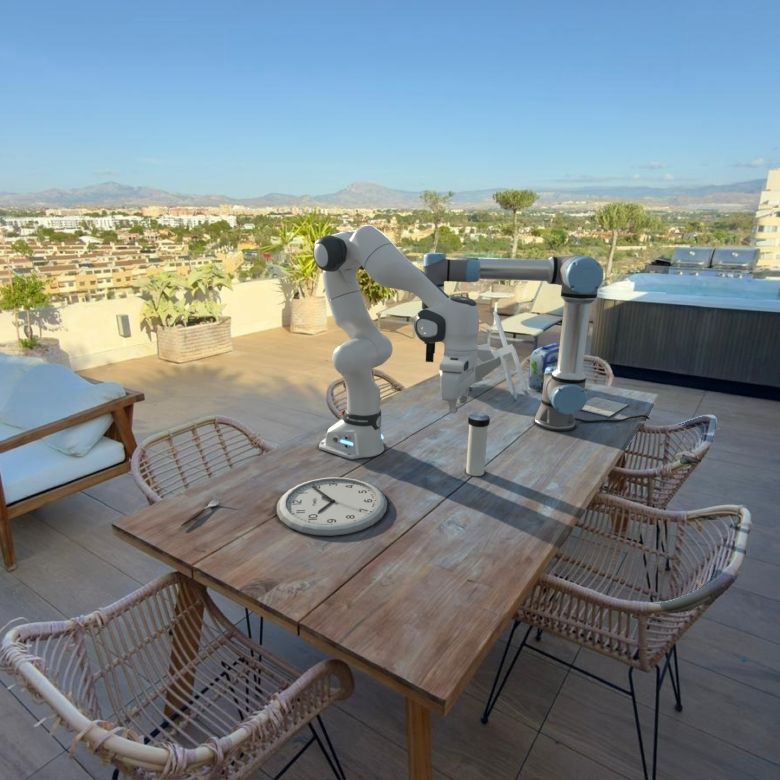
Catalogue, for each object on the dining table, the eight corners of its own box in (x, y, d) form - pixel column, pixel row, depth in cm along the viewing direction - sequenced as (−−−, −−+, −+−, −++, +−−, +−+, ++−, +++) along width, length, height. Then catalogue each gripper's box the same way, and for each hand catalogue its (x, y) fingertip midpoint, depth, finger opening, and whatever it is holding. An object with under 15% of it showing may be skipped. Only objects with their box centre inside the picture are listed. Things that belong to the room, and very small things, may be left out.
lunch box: (544, 395, 239) (549, 351, 233) (524, 390, 247) (528, 347, 240) (571, 384, 257) (577, 343, 251) (552, 380, 264) (556, 339, 258)
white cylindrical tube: (485, 469, 166) (489, 416, 160) (482, 477, 160) (487, 422, 155) (467, 467, 167) (471, 414, 162) (465, 474, 162) (468, 420, 157)
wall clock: (392, 527, 129) (268, 531, 127) (391, 533, 130) (269, 537, 127) (383, 473, 158) (282, 475, 155) (383, 478, 158) (282, 480, 156)
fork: (176, 526, 131) (176, 519, 130) (217, 497, 145) (217, 491, 145) (185, 528, 130) (184, 521, 130) (225, 499, 145) (224, 492, 144)
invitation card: (608, 416, 214) (573, 407, 224) (608, 416, 214) (573, 408, 224) (628, 404, 229) (594, 396, 238) (628, 405, 229) (594, 397, 238)
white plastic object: (461, 429, 252) (437, 405, 227) (444, 352, 274) (420, 323, 250) (535, 404, 240) (518, 377, 215) (510, 326, 262) (492, 293, 237)
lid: (490, 420, 161) (490, 414, 160) (488, 428, 155) (488, 421, 154) (469, 418, 163) (470, 412, 162) (466, 425, 157) (467, 419, 156)
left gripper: (460, 349, 150) (458, 395, 154) (436, 365, 132) (435, 417, 136) (482, 351, 147) (479, 398, 151) (461, 368, 129) (458, 420, 133)
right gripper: (424, 293, 195) (422, 349, 202) (419, 302, 172) (417, 365, 178) (444, 294, 195) (441, 350, 201) (442, 303, 171) (439, 366, 177)
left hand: (458, 407), depth 144 cm, fingers open, 8 cm apart
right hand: (430, 357), depth 190 cm, fingers open, 13 cm apart
